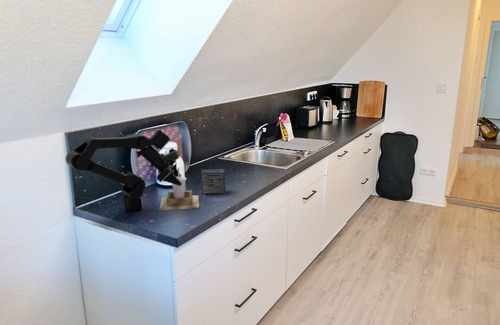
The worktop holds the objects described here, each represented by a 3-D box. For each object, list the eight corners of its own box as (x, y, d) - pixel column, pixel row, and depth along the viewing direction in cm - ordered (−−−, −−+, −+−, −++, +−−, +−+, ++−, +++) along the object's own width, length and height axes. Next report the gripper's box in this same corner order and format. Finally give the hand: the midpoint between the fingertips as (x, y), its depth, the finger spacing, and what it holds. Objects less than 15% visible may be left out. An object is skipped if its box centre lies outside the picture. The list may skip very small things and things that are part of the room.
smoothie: (188, 197, 177) (187, 166, 174) (185, 202, 171) (184, 170, 168) (173, 197, 178) (172, 166, 174) (170, 202, 171) (168, 170, 168)
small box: (225, 190, 192) (224, 168, 189) (225, 194, 185) (224, 172, 183) (203, 190, 191) (202, 169, 189) (201, 195, 185) (200, 173, 182)
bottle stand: (159, 210, 167) (159, 201, 166) (162, 198, 181) (161, 190, 180) (199, 208, 169) (198, 199, 168) (198, 196, 183) (198, 188, 182)
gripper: (163, 149, 159) (193, 175, 162) (170, 139, 177) (196, 163, 180) (144, 168, 161) (174, 194, 164) (153, 157, 179) (179, 181, 182)
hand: (181, 182), depth 173 cm, fingers closed on smoothie, 6 cm apart
